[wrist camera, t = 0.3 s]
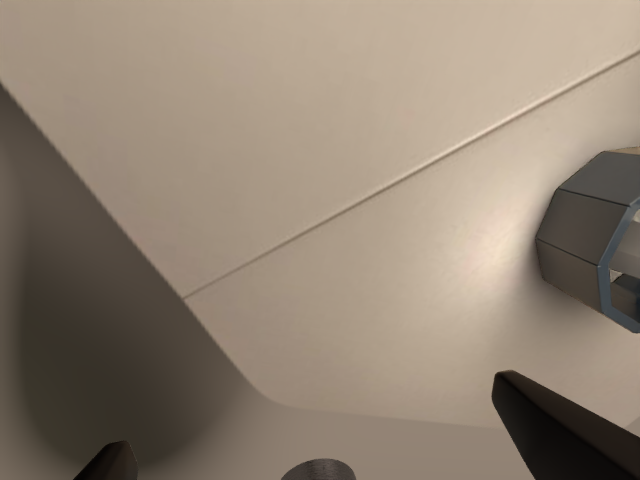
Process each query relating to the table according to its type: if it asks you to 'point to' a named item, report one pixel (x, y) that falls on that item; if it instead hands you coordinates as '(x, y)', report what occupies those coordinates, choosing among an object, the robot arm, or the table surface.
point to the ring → (594, 235)
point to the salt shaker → (629, 250)
